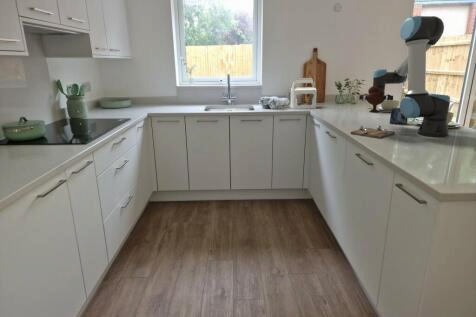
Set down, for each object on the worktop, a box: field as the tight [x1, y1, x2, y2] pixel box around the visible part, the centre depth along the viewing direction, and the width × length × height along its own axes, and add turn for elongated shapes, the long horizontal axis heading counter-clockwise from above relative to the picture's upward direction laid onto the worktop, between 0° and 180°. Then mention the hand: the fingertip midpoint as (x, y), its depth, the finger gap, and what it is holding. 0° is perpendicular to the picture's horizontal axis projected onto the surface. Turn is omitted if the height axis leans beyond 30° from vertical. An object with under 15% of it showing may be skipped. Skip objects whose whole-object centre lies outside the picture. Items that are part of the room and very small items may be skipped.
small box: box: [389, 107, 409, 125], centre depth 218 cm, size 11×6×10 cm, turn 68°
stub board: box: [350, 125, 396, 139], centre depth 191 cm, size 18×18×4 cm
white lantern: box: [289, 77, 318, 110], centre depth 303 cm, size 22×13×28 cm, turn 92°
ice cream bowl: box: [365, 85, 386, 114], centre depth 186 cm, size 11×11×15 cm
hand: (375, 99), depth 182 cm, fingers closed on ice cream bowl, 11 cm apart
